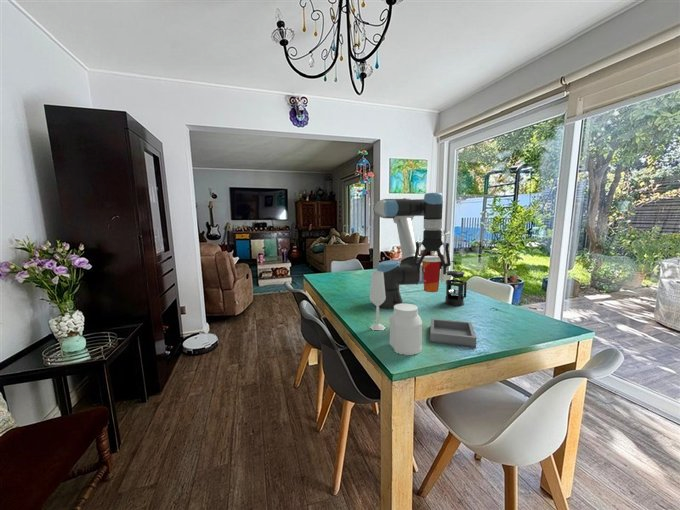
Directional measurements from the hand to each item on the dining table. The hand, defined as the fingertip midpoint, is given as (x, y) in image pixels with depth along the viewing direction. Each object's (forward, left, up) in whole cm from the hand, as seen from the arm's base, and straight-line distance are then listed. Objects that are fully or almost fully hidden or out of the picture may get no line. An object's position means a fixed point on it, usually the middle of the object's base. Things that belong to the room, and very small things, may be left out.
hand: (431, 281), depth 121 cm
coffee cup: (0, 0, -4) cm, 4 cm away
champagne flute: (-21, -15, -18) cm, 32 cm away
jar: (-8, -30, -18) cm, 36 cm away
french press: (+12, +29, -18) cm, 36 cm away
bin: (+8, -15, -18) cm, 25 cm away
